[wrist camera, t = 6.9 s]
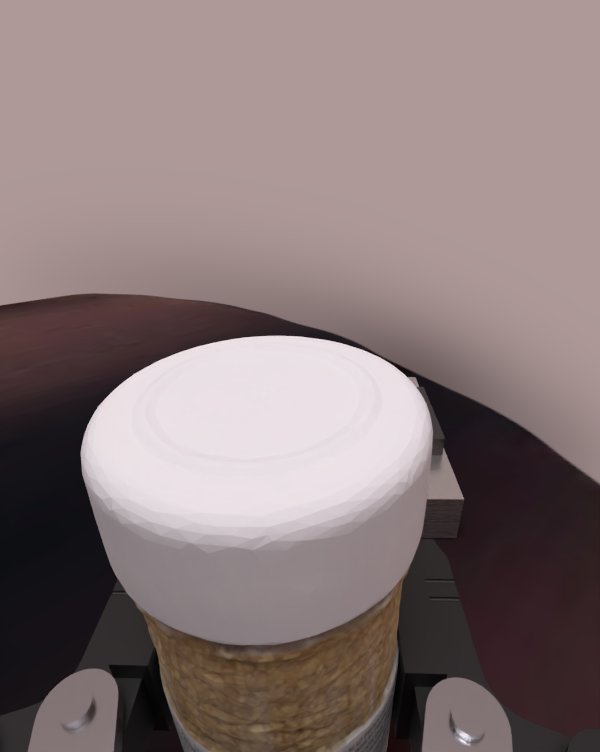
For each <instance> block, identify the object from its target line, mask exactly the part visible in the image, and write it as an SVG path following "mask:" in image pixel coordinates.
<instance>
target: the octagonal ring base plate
mask: <svg viewBox="0 0 600 752" xmlns="http://www.w3.org/2000/svg"><path fill="white" fill-rule="evenodd" d="M407 378H408V379H409V380H410V381H411V382H412V383H413V384H414V385H415V387H416V388H417V389H418V390H419V392H420V393H421V395H422V396H423V398H424V400H425V402H426V404H427V407H428V410H429V413H430V417H431V420H432V428H433V442H432V457H431V467H430V477H429V487H428V494H427V502H426V510H425V517H424V524H423V530H422V534H421V538H456V537H457V532H458V527H459V522H460V517H461V512H462V508H463V503H464V498H463V495H462V493H461V490H460V488H459V485H458V483H457V480H456V478H455V475H454V473H453V470H452V468H451V465H450V463H449V460H448V458H447V455H446V453H445V450H444V442H445V438H444V435H443V433H442V430H441V428H440V426H439V423H438V421H437V418H436V416H435V414H434V411H433V409H432V406H431V404H430V402H429V399H428V397H427V394H426V392H425V390H424V387H419V385H418V383H417V380H416V378H415V377H407Z"/></svg>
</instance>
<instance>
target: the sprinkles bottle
mask: <svg viewBox="0 0 600 752" xmlns="http://www.w3.org/2000/svg"><path fill="white" fill-rule="evenodd" d="M432 442H433V428H432V420H431V417H430V413H429V410H428V407H427V404H426V402H425V400H424V398H423V396H422V395H421V393H420V392H419V390H418V389H417V388H416V387H415V385H414V384H413V383H412V382H411V381H410V380H409V379H408V378H407V377H406V376H405V375H404V374H403V373H402V372H401V371H399V370H398V369H397V368H395V367H394V366H393V365H391V364H390V363H388V362H386V361H385V360H383V359H381V358H380V357H377V356H375V355H373V354H371V353H368V352H366V351H364V350H361V349H358V348H355V347H352V346H349V345H346V344H342V343H337V342H333V341H328V340H322V339H314V338H306V337H296V336H259V337H246V338H238V339H231V340H226V341H220V342H216V343H211V344H206V345H202V346H198V347H195V348H192V349H189V350H186V351H183V352H179V353H177V354H174V355H172V356H169V357H167V358H164V359H162V360H159V361H158V362H156V363H154V364H152V365H150V366H148V367H146V368H144V369H142V370H141V371H139V372H137V373H135V374H134V375H132V376H131V377H130V378H128V379H127V380H125V381H124V382H123V383H122V384H121V385H119V386H118V387H117V388H116V389H115V390H114V391H113V392H112V393H111V394H109V395H108V396H107V397H106V399H105V400H104V401H103V402H102V403H101V404H100V405H99V407H98V408H97V410H96V411H95V413H94V414H93V416H92V418H91V420H90V422H89V424H88V426H87V429H86V432H85V435H84V438H83V443H82V447H81V462H82V474H83V478H84V481H85V485H86V488H87V491H88V495H89V498H90V502H91V505H92V509H93V512H94V516H95V519H96V522H97V525H98V528H99V531H100V535H101V538H102V541H103V544H104V547H105V550H106V553H107V555H108V558H109V561H110V564H111V566H112V568H113V570H114V573H115V575H116V576H117V578H118V580H119V581H120V583H121V584H122V586H123V587H124V589H125V591H126V592H127V594H128V595H129V596H130V597H131V598H132V599H133V601H134V602H135V604H136V606H137V608H138V609H139V610H140V611H141V612H142V613H143V615H144V618H145V620H146V622H147V624H148V630H149V633H150V637H151V639H152V641H153V644H154V646H155V648H156V651H157V654H158V659H159V664H160V675H161V680H162V684H163V689H164V692H165V695H166V699H167V702H168V705H169V708H170V711H171V714H172V717H173V720H174V723H175V726H176V729H177V732H178V735H179V738H180V741H181V744H182V747H183V751H184V752H386V751H387V745H388V737H389V729H390V722H391V714H392V707H393V699H394V692H395V685H396V677H397V669H398V656H399V646H398V640H397V628H398V620H399V606H400V600H401V591H402V583H403V579H404V578H405V576H406V575H407V573H408V570H409V568H410V564H411V562H412V560H413V557H414V555H415V552H416V550H417V547H418V545H419V542H420V538H421V534H422V530H423V524H424V517H425V510H426V502H427V494H428V487H429V477H430V467H431V457H432Z"/></svg>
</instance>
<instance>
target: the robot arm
mask: <svg viewBox="0 0 600 752" xmlns="http://www.w3.org/2000/svg"><path fill="white" fill-rule="evenodd" d="M397 640H398V646H399V656H398V669H397V677H396V685H395V692H394V699H393V707H392V717H393V725H394V732H395V739H409V746H410V752H600V729H586V730H582V731H580V732H579V733H577V734H576V735H575V736H574V737H573V738H571V737H568V736H565V735H563V734H560V733H558V732H555V731H552V730H550V729H547V728H545V727H542V726H539V725H537V724H534V723H532V722H529V721H527V720H525V719H523V718H521V717H520V716H518V715H516V714H515V713H513V712H512V711H511V710H510V709H508V708H507V707H506V706H505V705H504V704H503V703H502V702H501V701H500V700H499V699H498V698H497V697H496V696H495V694H494V693H493V692H492V690H491V689H490V687H489V686H488V684H487V682H486V680H485V678H484V675H483V673H482V670H481V667H480V663H479V660H478V657H477V654H476V650H475V647H474V644H473V640H472V637H471V634H470V631H469V627H468V624H467V621H466V617H465V614H464V611H463V608H462V604H461V602H460V600H459V594H458V591H457V588H456V585H455V583H454V578H453V575H452V572H451V568H450V565H449V562H448V558H447V557H446V555H445V554H444V553H443V552H442V550H441V549H440V548H439V546H438V545H437V544H436V543H435V541H434V540H433V539H420V542H419V545H418V547H417V550H416V552H415V555H414V557H413V560H412V562H411V564H410V568H409V570H408V573H407V575H406V576H405V578H404V579H403V583H402V591H401V600H400V606H399V620H398V628H397ZM172 719H173V717H172V714H171V711H170V708H169V705H168V702H167V699H166V695H165V692H164V689H163V684H162V680H161V675H160V664H159V659H158V654H157V651H156V648H155V646H154V644H153V641H152V639H151V637H150V633H149V630H148V624H147V622H146V620H145V618H144V615H143V613H142V612H141V611H140V610H139V609H138V608H137V606H136V604H135V602H134V601H133V599H132V598H131V597H130V596H129V595H128V594H127V592H126V591H125V589H124V587H123V586H122V584H121V583H120V581H119V580H118V581H117V583H116V585H115V587H114V589H113V594H112V595H111V596H110V598H109V600H108V603H107V605H106V607H105V609H104V612H103V614H102V616H101V618H100V620H99V623H98V625H97V627H96V629H95V631H94V634H93V636H92V638H91V640H90V643H89V645H88V647H87V649H86V651H85V654H84V656H83V658H82V660H81V662H80V664H79V666H78V668H77V669H76V671H75V672H74V674H72V675H70V676H68V677H67V678H65V679H64V680H63V681H61V682H60V683H59V684H58V685H57V686H56V687H55V688H54V689H53V690H52V691H51V692H50V693H49V694H48V696H47V697H46V698H45V700H43V701H41V702H39V703H37V704H35V705H32V706H30V707H27V708H24V709H21V710H18V711H14V712H11V713H8V714H5V715H2V716H0V752H148V749H149V745H150V741H151V738H152V734H153V731H154V730H165V731H170V727H171V723H172Z"/></svg>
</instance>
